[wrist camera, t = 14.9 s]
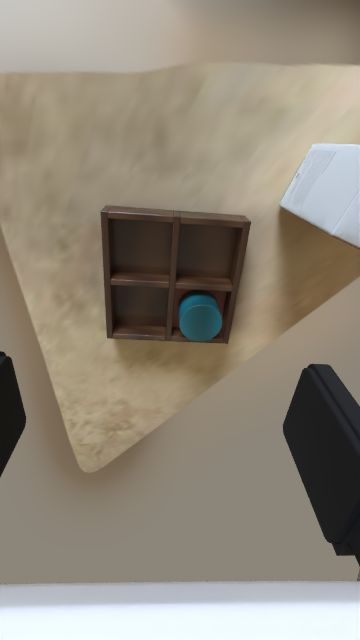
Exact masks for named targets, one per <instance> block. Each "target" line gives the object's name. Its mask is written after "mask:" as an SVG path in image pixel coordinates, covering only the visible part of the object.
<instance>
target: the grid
mask: <svg viewBox="0 0 360 640" xmlns="http://www.w3.org/2000/svg"><path fill="white" fill-rule="evenodd" d="M250 224H251V222H250V221H249V220H248V219H247V218H246V217H245V216H241V215H228V214H214V213H201V212H187V211H174V210H160V209H147V208H133V207H120V206H105V207H104V208H103V209H102V210H101V227H102V247H103V267H104V287H105V307H106V327H107V338H114V339H137V340H159V341H165V340H166V341H182V342H204V343H226V344H228V340H229V335H230V330H231V325H232V319H233V314H234V309H235V303H236V298H237V293H238V288H239V282H240V277H241V272H242V267H243V261H244V256H245V251H246V245H247V240H248V235H249V230H250ZM194 289H195V290H206V291H208V292H210V293H211V294H213V295H214V297H215V298H216V301H217V304H218V307H219V310H220V314H221V317H222V327H221V329H220V331H219V333H218V334H217V335H216V336H215V337H213V338H212V339H209V340H207V341H193V340H190V339H188V338H187V337H185V336H184V335H183V333H182V332H181V330H180V326H179V312H178V305H179V301H180V299H181V298H182V296H183V295H184V294H186V293H187V292H189V291H191V290H194Z"/></svg>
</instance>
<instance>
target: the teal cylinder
mask: <svg viewBox="0 0 360 640" xmlns="http://www.w3.org/2000/svg"><path fill="white" fill-rule="evenodd" d="M178 312H179V326H180V330H181V332H182V333H183V335H184V336H185V337H187V338H188V339H190V340H193V341H207V340H209V339H212V338H213V337H215V336H216V335H217V334H218V333H219V331H220V329H221V327H222V317H221V314H220V310H219V307H218V304H217V301H216V298H215V297H214V295H213V294H211V293H210V292H208V291H206V290H195V289H194V290H191V291H189V292H187V293H186V294H184V295H183V296H182V298H181V299H180V301H179V305H178Z"/></svg>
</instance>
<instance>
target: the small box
mask: <svg viewBox="0 0 360 640" xmlns="http://www.w3.org/2000/svg"><path fill="white" fill-rule="evenodd" d="M279 206H280V207H282V208H284V209H286V210H287V211H289V212H291V213H293V214H294V215H296V216H298V217H300V218H301V219H303V220H305V221H307V222H308V223H310V224H312V225H314V226H316V227H317V228H319V229H321V230H322V231H324V232H326V233H327V234H329V235H331V236H333V237H335V238H337V239H339V240H341V241H343V242H345V243H347V244H349V245H351V246H353V247H355V248H357V249H359V250H360V145H355V144H313V145H312V147H311V149H310V150H309V152H308V154H307V156H306V157H305V159H304V161H303V163H302V165H301V166H300V168H299V170H298V172H297V174H296V175H295V177H294V179H293V181H292V182H291V184H290V186H289V188H288V190H287V191H286V193H285V195H284V197H283V199H282V200H281V202H280V204H279Z"/></svg>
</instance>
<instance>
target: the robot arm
mask: <svg viewBox="0 0 360 640" xmlns="http://www.w3.org/2000/svg"><path fill="white" fill-rule="evenodd" d="M25 423H26V415H25V412H24V408H23V403H22V399H21V396H20V391H19V387H18V383H17V379H16V375H15V371H14V367H13V363H12V359H11V358H10V357H9V356H6V354H5V353H4V352H1V351H0V477H1V474H2V473H3V471H4V468H5V466H6V464H7V462H8V460H9V458H10V456H11V454H12V452H13V450H14V448H15V446H16V444H17V442H18V440H19V438H20V436H21V434H22V432H23V430H24V428H25ZM283 432H284V436H285V439H286V441H287V443H288V446H289V448H290V451H291V454H292V456H293V459H294V461H295V464H296V466H297V468H298V471H299V474H300V476H301V479H302V482H303V484H304V487H305V489H306V492H307V494H308V497H309V499H310V502H311V504H312V507H313V509H314V512H315V514H316V517H317V519H318V522H319V525H320V527H321V530H322V532H323V534H324V537H325V539H326V540H327V541H328V542H329V543H332V545H333V547H334V550H335V552H336V555H337V556H339V555H341V556H342V555H343V556H345V555H346V556H347V555H355V557H356V559H357V561H358V563H359V566H360V406H359V405H358V404H357V402H356V401H355V399H354V398H353V397H352V395H351V394H350V392H349V391H348V390H347V388H346V387H345V386H344V384H343V383H342V382H341V380H340V379H339V377H338V376H337V374H336V373H335V372H334V370H333V369H332V367H331V366H329V365H324V364H310V365H309V366H308V367H307V368H304V369H303V371H302V373H301V376H300V379H299V381H298V385H297V387H296V390H295V393H294V395H293V398H292V401H291V404H290V407H289V410H288V412H287V415H286V418H285V421H284V424H283ZM0 640H360V570H359V575H358V579H357V581H213V582H212V581H210V582H209V581H206V582H124V583H123V582H119V583H117V582H115V583H55V584H54V583H52V584H50V583H49V584H0Z"/></svg>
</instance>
